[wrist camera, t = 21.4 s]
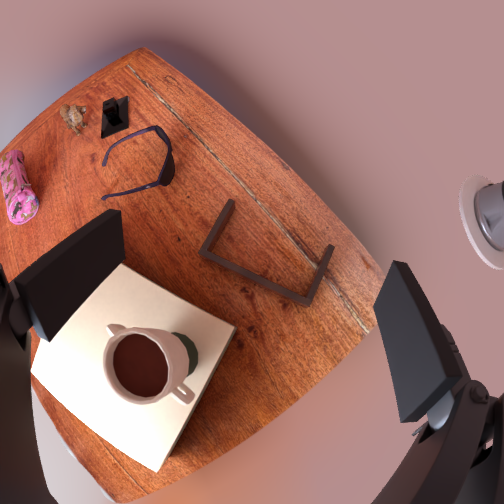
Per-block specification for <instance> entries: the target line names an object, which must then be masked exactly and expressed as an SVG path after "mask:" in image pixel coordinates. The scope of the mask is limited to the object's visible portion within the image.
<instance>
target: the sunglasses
mask: <svg viewBox="0 0 504 504" xmlns="http://www.w3.org/2000/svg"><path fill="white" fill-rule="evenodd" d="M152 130H155V131H156V133H157V134H158V136H159V137H160V138H161V139H162V140H163V141H164V142H165V143H166V144H167V146H168V152H167V156H166V159H165V162H164V165H163V167H162V170H161V172H160V174H159V177H158V180H157V181H156V182H153V183H150V184H146V185H144V186H141V187H138V188H135V189H131V190H128V191H125V192H121V193H115V194H108V195H104V196H103V197H102V198H101V199H102V200H106V199H107V198H108V197H114V196H121V195H126V194H130V193H134V192H138V191H141V190H145V189H148V188H152V187H155V186H158V185H162V186H167V185H169V184H170V183H171V181H172V179H173V177H174V173H175V164H174V159H173V156H172V151H173V150H172V146H171V142H170V140H169V138H168V136H167V135H166V133H165V132H164V130H163V129H162V128H161V127H159V126H157V125H156V126H151V127H148V128H145V129H142V130H140V131H137V132H135V133H132V134H130V135H128V136H126V137H124V138H122V139H121V140H119V141H117V142H116V143H114V144H113V145H112V146H111V147H110V148H109V149H108V151H107V152H106V155H105V157H104V160H103V163H102V166H103V167H104V166H106V163H107V159H108V155H109V153H110V151H111V150H112V148H114V147H115V146H116V145H118V144H119V143H121V142H123V141H125V140H127V139H129V138H132V137H134V136H137V135H139V134H142V133H145V132H148V131H152Z"/></svg>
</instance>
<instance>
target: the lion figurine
mask: <svg viewBox="0 0 504 504" xmlns="http://www.w3.org/2000/svg"><path fill="white" fill-rule="evenodd" d="M85 113H86V106H77V105H75V104H74V105H73V106H71V107H70V106H69V105H67V104H65V105H62V106H61V108H60V115H61V117H62V118H63V120H64V121H65V122H66V123H67V128H68V129H69V128H70V127H71V128H72V129H73V130H74V131H75V132H76V135H77V136H78V135H80V134H81V132H80V130H78V129H77V128H76V126H79V125H80V124H81V126H82V127H86V126H87V123H84V122H83V118H84V116H83V114H85Z"/></svg>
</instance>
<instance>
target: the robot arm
mask: <svg viewBox="0 0 504 504" xmlns="http://www.w3.org/2000/svg"><path fill="white" fill-rule="evenodd" d="M487 185H488V186H484V187H482V188H481V189H480V190H478V191H477V192H476V194H475V197H474V212H475V217H476V220H477V223H478V226H479V228H480V231H481V233H482V234H483V236H484V238H485V239H486V241H487V242H488V243H489V245H490V246H491V247H493V248H494V249H495V250H497V251H504V181H503V182H501V183H497V184H487ZM125 259H126V257H125V248H124V239H123V228H122V216H121V211H120V210H114V209H108V210H107V211H105V212H104V213H102V214H100V215H99V216H97V217H96V218H94V219H93V220H91V221H90V222H88V223H87V224H86V225H84V226H83V227H81V228H80V229H78V230H77V231H75V232H74V233H73V234H71V235H70V236H68V237H67V238H66V239H64V240H63V241H62V242H60V243H59V244H58V245H56V246H55V247H54V248H52V249H51V250H50V251H48V252H47V253H45V254H44V255H42V256H41V257H40V258H38V259H37V261H35V262H33V263H32V264H31V266H29V267H27V268H26V269H25V270H24V271H23V272H21V273H20V274H19V275H18V276H17V277H16V278H14V279H13V280H12V281H11V282H10V283H9V284H8V281H7V278H6V275H5V273H4V270H3V267H2V265H1V263H0V504H58V502H57V501H56V500H55V499H54V497H53V496H52V495H51V494H50V492H49V490H48V488H47V484H46V481H45V477H44V473H43V469H42V465H41V460H40V456H39V451H38V446H37V440H36V433H35V427H34V418H33V409H32V396H31V333H30V331H29V329H30V328H31V327H32V326H33V327H34V329H35V331H36V333H37V335H38V336H39V337H40V338H42V339H44V340H46V341H47V342H49V343H50V342H51V341H52V339H53V338H54V337H55V336H56V334H57V333H58V332H59V331H60V330H61V328H62V327H63V326H64V325H65V324H66V322H67V321H68V320H69V319H70V318H71V317H72V315H73V314H74V313H75V312H76V311H77V310H78V309H79V307H80V306H81V305H82V304H83V303H84V302H85V301H86V300H87V299H88V297H89V296H90V295H91V294H92V293H93V292H94V291H95V290H96V289H97V288H98V287H99V286H100V284H101V283H102V282H103V281H104V280H105V279H106V278H107V277H108V276H109V275H110V274H111V273H112V272H113V271H114V270H115V269H116V268H117V267H118V266H119V265H120V264H121V263H122V262H123V261H124V260H125ZM373 308H374V312H375V315H376V318H377V322H378V325H379V329H380V332H381V335H382V340H383V344H384V347H385V351H386V355H387V359H388V363H389V367H390V372H391V376H392V381H393V385H394V390H395V395H396V400H397V405H398V411H399V417H400V422H401V423H406V422H417V421H418V420H419V419H421V418H422V417H423V416H424V415H425V414H426V413H427V416H428V421H427V422H426V423H424V424H423V425H422V426H421V427H420V428H418V429H417V430H416V431H415V432H414V433H413V434H412V435H413V436H414V435H416V434H417V433H418V432H419V434H418V436H417V438H416V439H415V441H414V443H413V444H412V446H411V448H410V450H409V451H408V453H407V455H406V456H405V458H404V459H403V461H402V462H401V464H400V465H399V467H398V468H397V470H396V471H395V473H394V474H393V476H392V477H391V478H390V480H389V481H388V483H387V484H386V486H385V487H384V488H383V489H382V491H381V492H380V493H379V495H378V496H377V497H376V499H375V500H374V501H373V502H372V503H371V504H504V393H503V394H502V395H501V396H500V397H499V398H496V397H492V396H489V393H488V391H487V389H486V387H485V386H484V385H483V384H482V383H481V382H479V381H476V380H471V378H470V375H469V373H468V371H467V368H466V366H465V363H464V361H463V359H462V356H461V354H460V353H459V350H458V348H457V346H456V345H455V341H454V339H453V337H452V335H451V333H450V332H449V331H448V330H447V329H446V327H445V326H444V325H442V324H440V323H439V320H438V319H437V317H436V315H435V313H434V311H433V309H432V307H431V305H430V303H429V301H428V299H427V297H426V296H425V294H424V292H423V290H422V288H421V287H420V285H419V284H418V281H417V280H416V278H415V276H414V275H413V273H412V271H411V269H410V268H409V266H408V264H407V263H404V262H399V261H395V260H393V262H392V264H391V267H390V269H389V272H388V274H387V276H386V279H385V281H384V283H383V286H382V288H381V290H380V292H379V295H378V297H377V299H376V301H375V303H374V305H373ZM491 439H493V445H492V446H491V447H489V448H488V449H486V443H487V442H489V441H490V440H491Z"/></svg>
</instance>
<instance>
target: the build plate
mask: <svg viewBox="0 0 504 504" xmlns="http://www.w3.org/2000/svg"><path fill="white" fill-rule="evenodd" d="M128 102H129V97H128V96H126V97H123V98H121V99H118V100H116V99H115V98H114V97H113V98H111V99H109V100H107V101H104V102H103V109H102V111H103V114H102V129H101V138H102V139H103V138H105V137H108V136H110V135H112V134H114V133H117V132H119V131H122V130H124V129H126V128H128V127H129V118H128Z"/></svg>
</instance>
